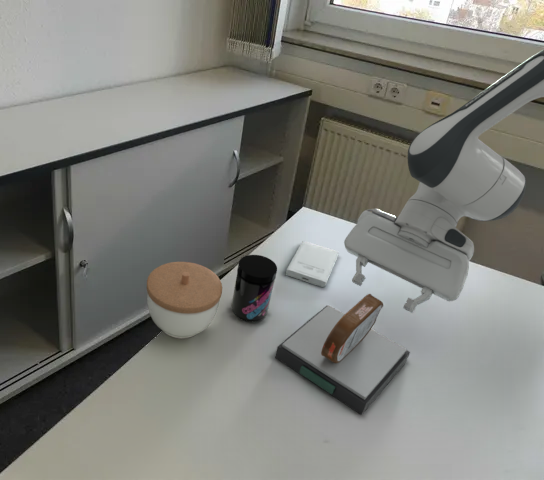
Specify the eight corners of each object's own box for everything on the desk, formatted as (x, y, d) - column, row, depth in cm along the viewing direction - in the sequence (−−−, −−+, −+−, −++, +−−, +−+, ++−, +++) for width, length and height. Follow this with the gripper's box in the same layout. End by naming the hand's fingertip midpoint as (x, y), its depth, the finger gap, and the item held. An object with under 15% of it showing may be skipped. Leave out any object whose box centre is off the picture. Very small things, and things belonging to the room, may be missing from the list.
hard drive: (337, 257, 117) (324, 288, 107) (300, 246, 119) (285, 274, 110) (339, 251, 116) (326, 281, 106) (302, 240, 118) (286, 268, 109)
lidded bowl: (161, 358, 87) (165, 305, 81) (133, 309, 97) (136, 259, 91) (229, 339, 92) (238, 289, 86) (196, 295, 102) (202, 246, 96)
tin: (360, 321, 95) (373, 283, 90) (376, 331, 93) (391, 292, 88) (314, 364, 85) (327, 324, 80) (332, 375, 83) (346, 335, 79)
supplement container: (231, 322, 96) (240, 276, 90) (229, 298, 102) (237, 253, 96) (269, 325, 96) (280, 279, 91) (264, 301, 102) (274, 256, 96)
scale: (405, 362, 92) (411, 349, 90) (360, 416, 81) (365, 402, 79) (324, 315, 100) (327, 302, 98) (273, 358, 90) (276, 345, 88)
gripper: (364, 197, 95) (323, 263, 94) (483, 247, 84) (438, 322, 83) (369, 211, 101) (330, 273, 100) (482, 259, 90) (439, 330, 89)
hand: (381, 296), depth 91 cm, fingers open, 8 cm apart
